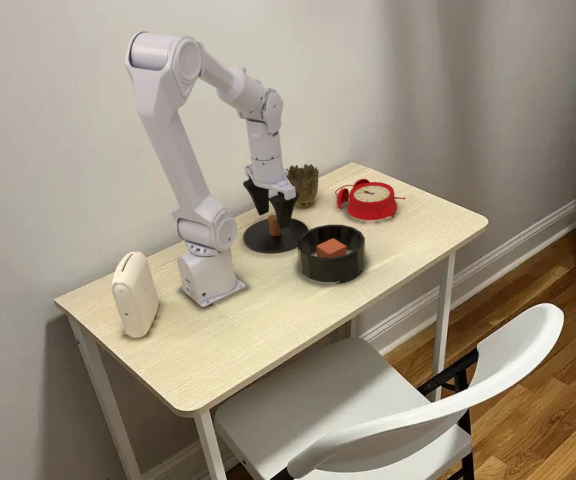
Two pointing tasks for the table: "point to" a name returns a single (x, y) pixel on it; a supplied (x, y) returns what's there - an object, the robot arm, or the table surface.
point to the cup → (304, 183)
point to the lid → (273, 235)
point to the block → (331, 249)
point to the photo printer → (135, 294)
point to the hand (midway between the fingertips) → (274, 220)
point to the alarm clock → (368, 200)
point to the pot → (338, 266)
